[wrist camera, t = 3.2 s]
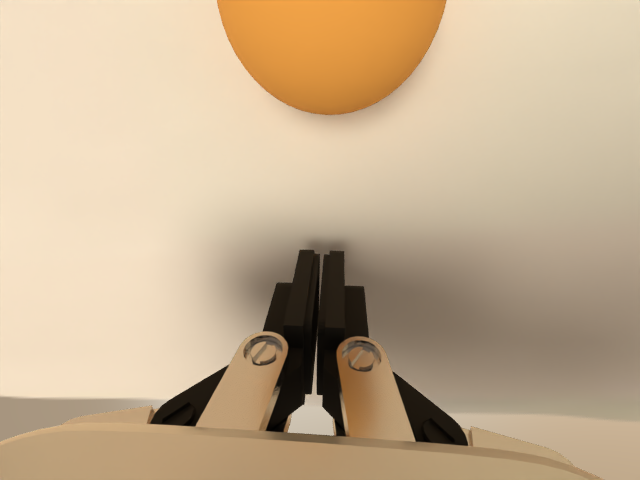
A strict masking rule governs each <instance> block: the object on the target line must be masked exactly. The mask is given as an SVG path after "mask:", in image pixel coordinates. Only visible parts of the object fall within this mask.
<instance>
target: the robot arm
mask: <svg viewBox="0 0 640 480" xmlns="http://www.w3.org/2000/svg"><path fill="white" fill-rule="evenodd" d="M319 274H320V254H314V250H300V251H299V256H298V260H297V265H296V269H295V274H294V278H293V283H277V284H276V287H275V290H274V294H273V297H272V301H271V304H270V308H269V311H268V315H267V318H266V321H265V325H264V328H263V332H258V333H255V334H253V335H251V336H249V337H248V338H246V339H245V340H244V341H243V342H242V344H241V345H240V346H239V348H238V350H237V352H236V354H235V355H234V357H233V359H232V361H231V363H230V364H229V365H228V366H226V367H224V368H222V369H221V370H219V371H217V372H216V373H214V374H212V375H211V376H209V377H207V378H206V379H204V380H202V381H201V382H199V383H197V384H196V385H194V386H192V387H191V388H189V389H187V390H185V391H184V392H182V393H180V394H179V395H177V396H175V397H174V398H172V399H170V400H169V401H167V402H166V403H165V404H163V405H162V406H161V407H160V408H158V409H153V407H152V405H151V406H145V407H139V408H132V409H126V410H119V411H112V412H105V413H99V414H92V415H86V416H80V417H77V418H73V419H70V420H69V421H67V422H65V423H63V424H61V425H60V426H55V427H49V428H44V429H39V430H35V431H32V432H29V433H25V434H21V435H18V436H14V437H11V438H9V439H6V440H3V441H1V442H0V480H604V479H602V478H600V477H598V476H595V475H593V474H591V473H588V472H586V471H584V470H581V469H579V468H577V467H575V466H574V465H573V464H572V463H571V462H570V461H569V460H568V459H566V458H565V457H564V456H562V455H561V454H560V453H558V452H556V451H553V450H551V449H549V448H546V447H542V446H539V445H535V444H532V443H529V442H525V441H521V440H518V439H514V438H511V437H507V436H504V435H500V434H497V433H493V432H489V431H486V430H482V429H479V428H475V427H472V426H471V429H470V430H467V429H464V428H461V427H460V425H458V423H456V421H455V420H453V419H452V418H451V417H450V416H449V415H447V414H446V413H445V412H444V411H442V410H441V409H440V408H439V407H437V406H436V405H435V404H434V403H432V402H431V401H430V400H428V399H427V398H426V397H425V396H423V395H422V394H421V393H420V392H418V391H417V390H416V389H414V388H413V387H412V386H411V385H409V384H408V383H407V382H406V381H404V380H403V379H402V378H401V377H399V376H398V375H397V374H395V373H394V372H393V371H392V369H391V366H390V363H389V361H388V358H387V355H386V352H385V351H384V349H383V347H382V346H381V345H380V344H379V343H378V342H376V341H374V340H372V339H370V338H369V334H368V324H367V313H366V303H365V292H364V287H363V286H345V279H344V251H330V255H327V254H324V261H323V272H322V283H321V294H320V305H319ZM317 329H318V332H317ZM316 340H317V395H323V403H322V407H323V408H324V409H325V410H326V411H327V412H328V413H329V414H330V415H331V416H332V417H333V429H334V436H329V435H313V434H300V433H287V432H288V428H289V425H290V421H291V413H293V412H294V411H295V410H296V409H298V408H299V407H300V406H302V405H304V402H305V394H312V384H313V373H314V362H315V351H316Z"/></svg>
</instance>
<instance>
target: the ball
mask: <svg viewBox="0 0 640 480" xmlns="http://www.w3.org/2000/svg"><path fill="white" fill-rule="evenodd" d="M217 3H218V8H219V12H220V16H221V20H222V23H223V26H224V29H225V31H226V34H227V37H228V39H229V41H230V43H231V45H232V47H233V49H234V51H235V53H236V55H237V57H238V58H239V60H240V61H241V63H242V64H243V66H244V67H245V69H246V70H247V71H248V72H249V73H250V75H251V76H252V77H253V78H254V80H256V81H257V82H258V83H259V84H260V85H261V86H262V87H263V88H264V89H265V90H266V91H267V92H269V93H270V94H271V95H273V96H274V97H275V98H277V99H278V100H280V101H282V102H284V103H286V104H287V105H289V106H292V107H294V108H297V109H299V110H302V111H306V112H310V113H314V114H324V115H335V114H344V113H350V112H354V111H357V110H360V109H363V108H366V107H368V106H370V105H372V104H375V103H377V102H378V101H380V100H381V99H383V98H385V97H386V96H388V95H389V94H390V93H392V92H393V91H394V90H395V89H397V88H398V87H399V86H400V85H401V84H402V83H403V82H404V81H405V80H406V79H407V78H408V77H409V76H410V75H411V74H412V72H413V71H414V70H415V68H416V67H417V66H418V64H419V63H420V62H421V60H422V58H423V57H424V55H425V53H426V52H427V50H428V48H429V47H430V45H431V43H432V40H433V38H434V36H435V34H436V32H437V30H438V27H439V24H440V21H441V18H442V15H443V12H444V9H445V4H446V0H217Z"/></svg>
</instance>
